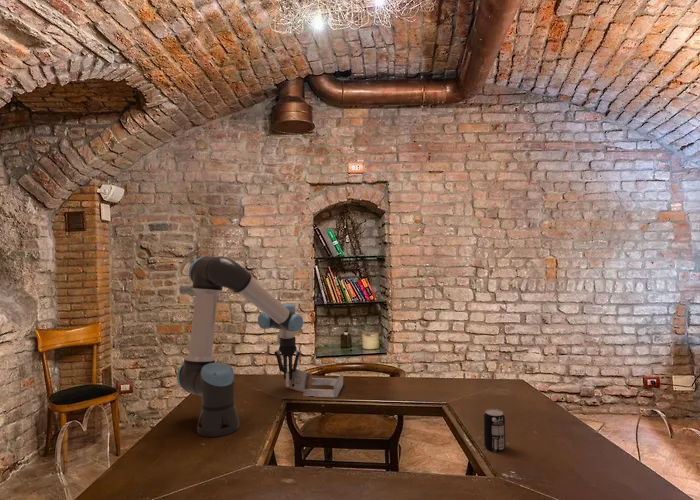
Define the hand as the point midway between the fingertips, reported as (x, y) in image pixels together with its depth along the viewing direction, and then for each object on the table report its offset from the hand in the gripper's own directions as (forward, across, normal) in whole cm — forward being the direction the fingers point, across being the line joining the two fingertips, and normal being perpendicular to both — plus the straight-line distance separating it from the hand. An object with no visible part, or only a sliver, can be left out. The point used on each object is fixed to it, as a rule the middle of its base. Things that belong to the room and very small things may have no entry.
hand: (288, 386), depth 208 cm
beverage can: (+1, -85, +53) cm, 100 cm away
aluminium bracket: (+1, -17, 0) cm, 17 cm away
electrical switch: (+2, -5, 0) cm, 6 cm away
